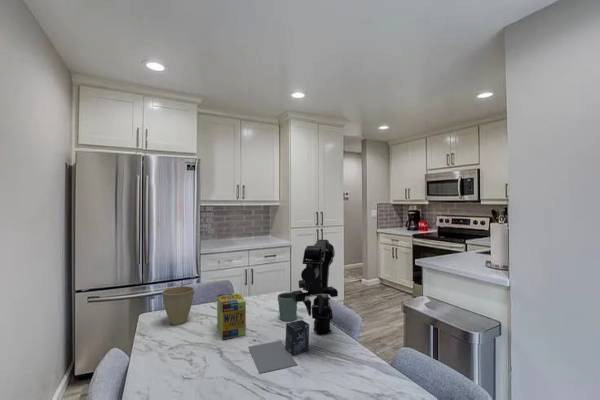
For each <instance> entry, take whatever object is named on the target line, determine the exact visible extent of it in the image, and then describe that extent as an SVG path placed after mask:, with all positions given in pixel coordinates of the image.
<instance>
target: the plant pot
mask: <svg viewBox="0 0 600 400" xmlns="http://www.w3.org/2000/svg"><path fill="white" fill-rule="evenodd" d="M161 294H162V300H163V301H162V302H163V306H164V309H165V310H164V311H165V313H166V315H167V318H168V322H169V323H170V325H173V326H179V325H182V324H185V323H186V322H187V321H188V317H189V315H190V313H191V312H190V311H191V309H192V304H193V300H194V294H195V287H193V286H189V285H188V286H185V285H183V286H182V285H181V286H175V287H169V288H166V289H164V290H162V292H161Z"/></svg>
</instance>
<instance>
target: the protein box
mask: <svg viewBox="0 0 600 400" xmlns="http://www.w3.org/2000/svg"><path fill="white" fill-rule="evenodd" d="M216 298H217V299H216V300H217V302H216V303H217V304H216V307H217V308H216V309H217V311H216V316H217V317H216V319H217V320H216V322H217V324H216V327H217V330H218V333H219V335H220V337H221V340H222V341H227V340H232V339H237V338H243V337H246V336H247V334H246V333H247V328H246V327H247V325H246V324H247V321H246V320H247V317H246V316H247V314H246V312H247V311H246V309H247V308H246V302H247V301H246V300H245V299H244V298H243V296H242V295H241V293H240V292H231V293H230V292H229V293H221V294H217V295H216Z"/></svg>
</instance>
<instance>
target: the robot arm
mask: <svg viewBox="0 0 600 400" xmlns="http://www.w3.org/2000/svg"><path fill="white" fill-rule="evenodd" d="M303 252H304V253H303V259H302V264H303V265H305V268H303V269H302V270H301V273H300V277H301V280H298V287H299V289H302V290H303V291H305V292H303V291H302V290H293V291H291V298H292V299H293V300H294V301H295V302H297V303H298V302H299V303H300V302H302V303H304V306H305V309H306V311H307V314H308V316H309V317H312V318H311V319H313V320H314V321H313V331H315V333H316V334H317V335H319V336H323V335H327V334H332V333H333V332H332V330H331V320H333V319H334V314H333V313H334V312H333V309H332V306H331V303H330V301H331V298H335V297H339V292H338V290H337V288H335V287H333V286H329V276H330V275H329V274H330V266H331V264H333V262H334V258H335V253H336V251H335V247H334V246H333V245H332V244H331V243H330V241H329V240H328V239H317V241H316V243H314V244H313V245H306V247H305V248H304V251H303ZM310 297H315V298H314V299H313V304H312V300H311V299H310Z"/></svg>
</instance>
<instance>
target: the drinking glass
mask: <svg viewBox="0 0 600 400" xmlns="http://www.w3.org/2000/svg"><path fill="white" fill-rule="evenodd" d="M291 293H292V291H291V292H289V291H288V292H282V293H279V294H278V295H277V301H278V303H277V304H278V311H279V320H280V322H284V323H290V322H295V321H297V319H298V318H297V316H298V314H297V311H298V302H295V301H294V300H293V299H292V298H291Z"/></svg>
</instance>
